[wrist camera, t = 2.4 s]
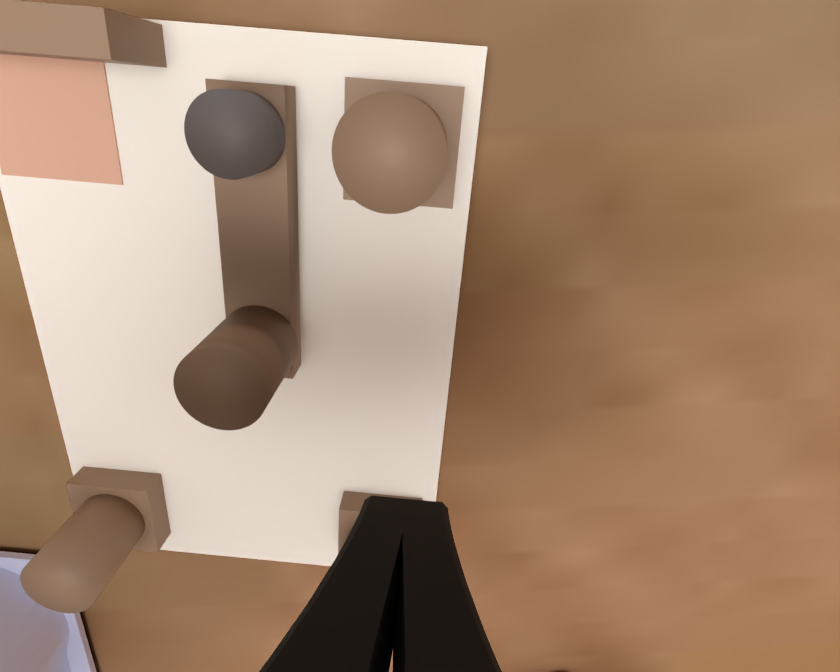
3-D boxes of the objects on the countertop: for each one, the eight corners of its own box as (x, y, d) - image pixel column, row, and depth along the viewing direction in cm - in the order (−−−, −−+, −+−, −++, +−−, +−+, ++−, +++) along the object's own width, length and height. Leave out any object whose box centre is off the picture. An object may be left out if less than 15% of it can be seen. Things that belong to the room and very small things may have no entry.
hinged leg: (213, 79, 14) (129, 69, 10) (302, 86, 14) (250, 79, 10) (236, 358, 17) (179, 426, 14) (307, 364, 17) (269, 434, 14)
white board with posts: (428, 546, 22) (422, 674, 17) (111, 516, 23) (15, 633, 18) (483, 52, 15) (502, 23, 10) (-1, 13, 15) (-231, -36, 10)
